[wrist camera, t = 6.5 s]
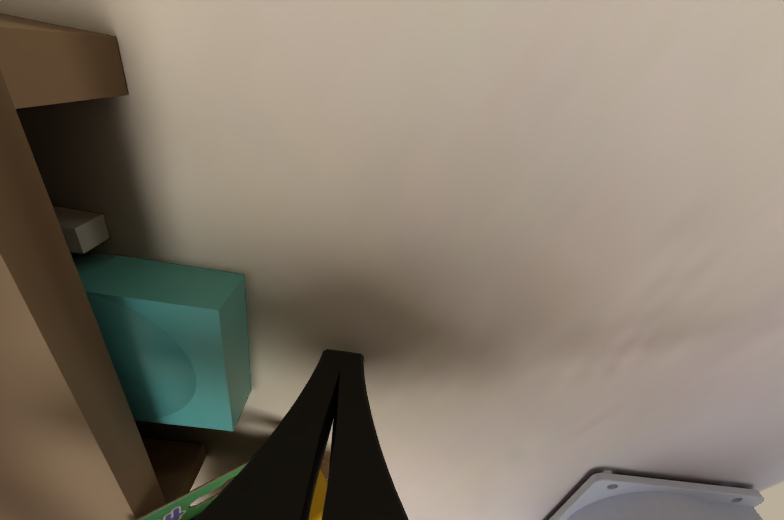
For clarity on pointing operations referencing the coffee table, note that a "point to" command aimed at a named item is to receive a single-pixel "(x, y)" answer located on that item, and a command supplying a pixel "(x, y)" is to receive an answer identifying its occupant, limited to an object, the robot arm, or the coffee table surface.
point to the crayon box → (180, 515)
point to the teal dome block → (172, 337)
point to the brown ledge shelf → (63, 315)
